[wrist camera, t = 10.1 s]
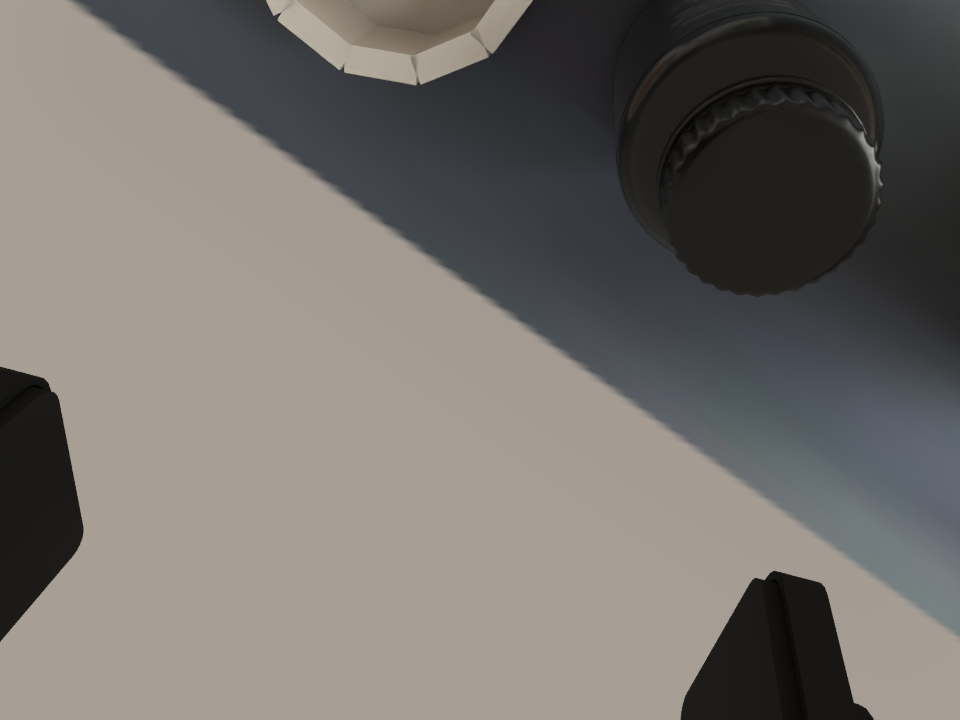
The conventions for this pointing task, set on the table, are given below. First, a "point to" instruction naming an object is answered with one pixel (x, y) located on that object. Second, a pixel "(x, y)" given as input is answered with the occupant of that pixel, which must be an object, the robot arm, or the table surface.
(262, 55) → the table surface
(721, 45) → the supplement bottle
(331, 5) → the bowl
